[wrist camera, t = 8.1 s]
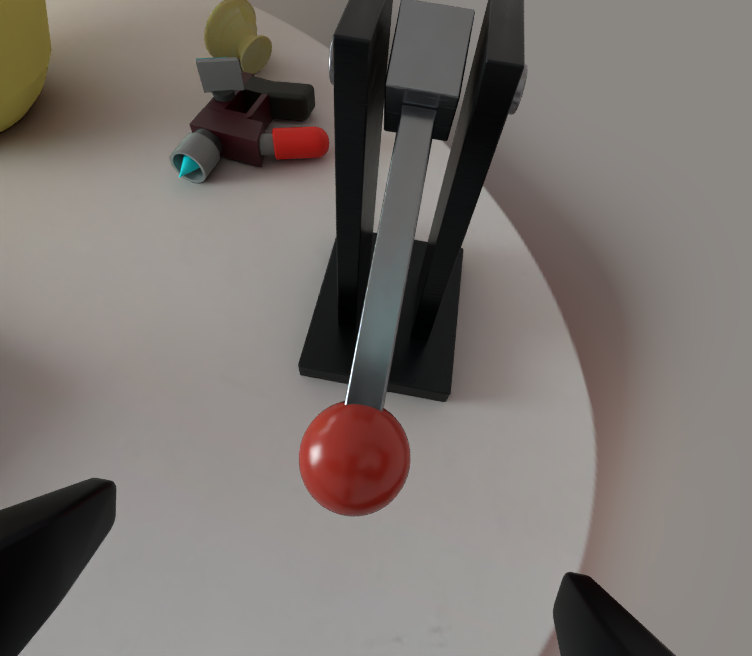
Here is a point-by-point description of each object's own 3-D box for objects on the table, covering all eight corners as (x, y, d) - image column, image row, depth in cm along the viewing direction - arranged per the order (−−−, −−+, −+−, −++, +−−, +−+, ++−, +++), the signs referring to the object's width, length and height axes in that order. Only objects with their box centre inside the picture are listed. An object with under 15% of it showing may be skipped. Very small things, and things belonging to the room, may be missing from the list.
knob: (204, 66, 37) (186, -1, 33) (250, 45, 39) (238, -21, 35) (240, 89, 36) (226, 23, 32) (286, 66, 38) (279, 0, 34)
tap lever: (397, 506, 14) (402, 545, 11) (299, 487, 14) (276, 520, 11) (472, 77, 15) (496, -1, 12) (384, 62, 15) (384, -18, 12)
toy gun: (162, 186, 30) (133, 121, 26) (240, 92, 36) (226, 27, 32) (294, 222, 29) (286, 162, 25) (351, 120, 35) (352, 57, 31)
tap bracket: (445, 403, 23) (593, 145, 9) (299, 375, 23) (239, 85, 10) (459, 260, 28) (568, -41, 15) (339, 238, 28) (336, -77, 15)
